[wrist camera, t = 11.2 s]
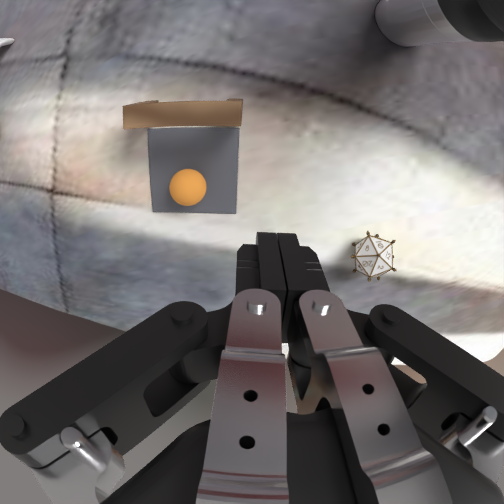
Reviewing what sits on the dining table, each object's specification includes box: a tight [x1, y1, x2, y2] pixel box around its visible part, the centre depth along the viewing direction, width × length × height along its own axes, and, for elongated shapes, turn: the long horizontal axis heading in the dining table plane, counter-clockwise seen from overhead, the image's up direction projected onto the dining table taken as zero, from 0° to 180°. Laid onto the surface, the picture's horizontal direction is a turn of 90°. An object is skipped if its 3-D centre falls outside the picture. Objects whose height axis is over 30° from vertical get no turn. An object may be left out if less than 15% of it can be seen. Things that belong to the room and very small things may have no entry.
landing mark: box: [148, 128, 239, 214], centre depth 45 cm, size 14×14×1 cm
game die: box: [351, 231, 396, 281], centre depth 49 cm, size 9×8×10 cm
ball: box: [169, 169, 206, 206], centre depth 43 cm, size 6×6×6 cm
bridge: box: [123, 99, 243, 129], centre depth 36 cm, size 3×15×9 cm, turn 87°
